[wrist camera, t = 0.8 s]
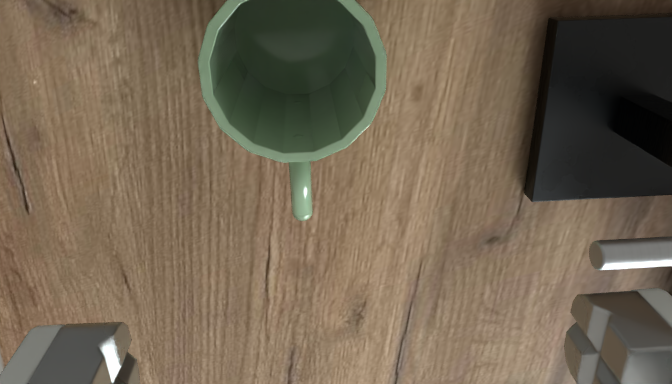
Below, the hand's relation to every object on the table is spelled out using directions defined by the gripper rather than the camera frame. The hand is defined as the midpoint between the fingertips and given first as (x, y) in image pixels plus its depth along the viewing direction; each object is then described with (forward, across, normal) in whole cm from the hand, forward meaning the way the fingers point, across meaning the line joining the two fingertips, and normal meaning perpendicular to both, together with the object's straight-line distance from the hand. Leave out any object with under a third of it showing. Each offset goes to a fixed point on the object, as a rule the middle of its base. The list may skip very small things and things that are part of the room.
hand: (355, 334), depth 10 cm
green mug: (+20, +1, 0) cm, 20 cm away
